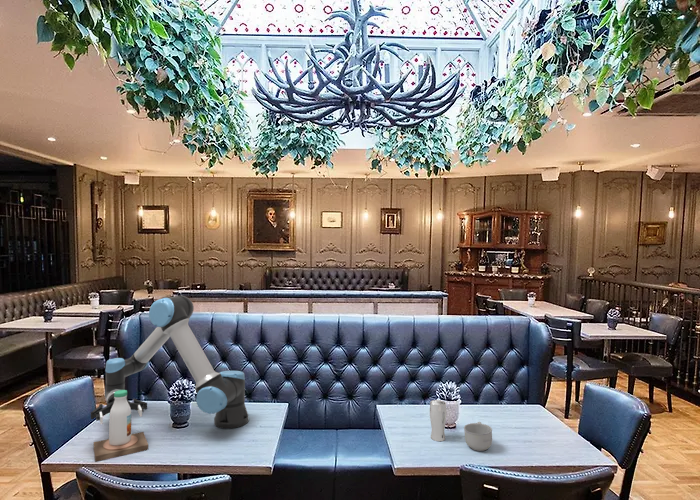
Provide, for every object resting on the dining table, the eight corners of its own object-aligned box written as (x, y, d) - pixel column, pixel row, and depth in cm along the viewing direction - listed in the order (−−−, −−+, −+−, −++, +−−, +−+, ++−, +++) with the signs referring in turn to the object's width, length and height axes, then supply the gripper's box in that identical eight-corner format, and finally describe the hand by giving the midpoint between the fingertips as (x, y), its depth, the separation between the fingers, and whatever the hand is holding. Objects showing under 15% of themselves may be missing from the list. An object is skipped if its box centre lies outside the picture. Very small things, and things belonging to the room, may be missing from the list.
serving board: (143, 436, 180) (143, 430, 180) (148, 449, 168) (148, 443, 168) (93, 447, 170) (93, 440, 170) (95, 461, 158) (95, 454, 158)
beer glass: (428, 440, 177) (428, 404, 177) (431, 433, 184) (431, 398, 184) (445, 443, 175) (445, 406, 175) (447, 436, 182) (447, 400, 182)
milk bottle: (121, 447, 164) (122, 395, 164) (104, 445, 166) (104, 393, 166) (135, 438, 172) (136, 389, 172) (118, 436, 173) (119, 387, 173)
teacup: (488, 456, 164) (488, 435, 164) (460, 449, 170) (460, 429, 170) (496, 442, 176) (496, 423, 176) (470, 436, 181) (470, 417, 181)
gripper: (148, 403, 191) (156, 419, 173) (82, 415, 177) (84, 434, 159) (148, 387, 191) (156, 401, 173) (82, 397, 177) (84, 413, 159)
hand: (121, 417), depth 166 cm, fingers open, 13 cm apart
